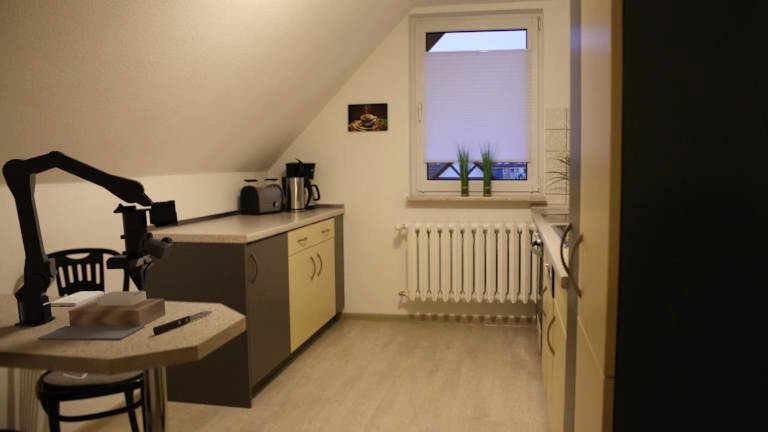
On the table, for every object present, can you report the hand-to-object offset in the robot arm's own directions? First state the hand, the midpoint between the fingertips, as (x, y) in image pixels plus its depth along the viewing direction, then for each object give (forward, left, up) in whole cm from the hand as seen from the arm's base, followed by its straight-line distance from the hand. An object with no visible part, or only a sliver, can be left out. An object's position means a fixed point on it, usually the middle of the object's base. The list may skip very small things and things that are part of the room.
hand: (141, 290), depth 158 cm
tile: (0, -8, -1) cm, 8 cm away
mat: (0, -20, -5) cm, 21 cm away
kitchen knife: (+19, -13, -6) cm, 23 cm away
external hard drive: (-26, +10, -6) cm, 29 cm away
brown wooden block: (0, -10, -5) cm, 12 cm away
